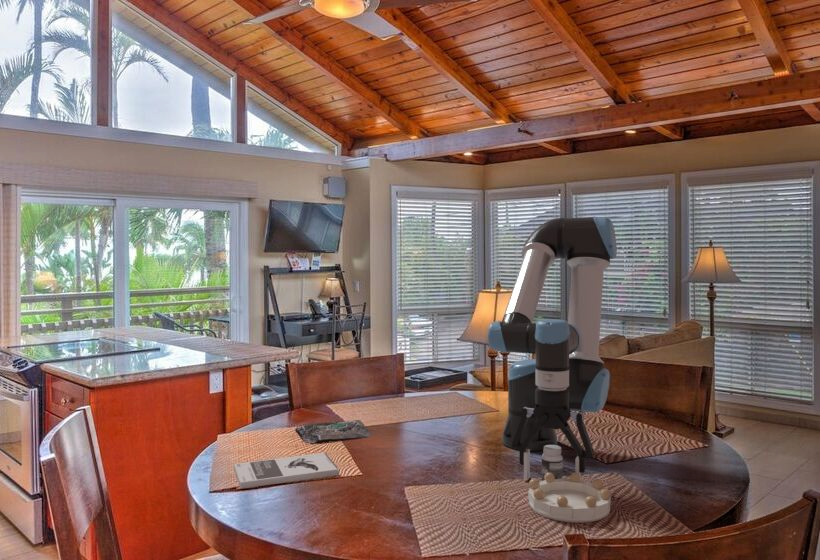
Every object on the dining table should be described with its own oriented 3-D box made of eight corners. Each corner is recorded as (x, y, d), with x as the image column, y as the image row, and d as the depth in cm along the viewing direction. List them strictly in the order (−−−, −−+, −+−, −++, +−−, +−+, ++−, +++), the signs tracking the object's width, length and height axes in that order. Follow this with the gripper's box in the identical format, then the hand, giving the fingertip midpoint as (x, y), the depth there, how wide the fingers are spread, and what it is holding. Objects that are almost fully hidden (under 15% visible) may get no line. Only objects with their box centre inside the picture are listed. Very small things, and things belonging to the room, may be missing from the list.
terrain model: (305, 447, 176) (305, 436, 176) (295, 433, 190) (295, 422, 190) (374, 439, 183) (374, 428, 183) (360, 426, 198) (360, 416, 197)
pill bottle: (538, 479, 148) (539, 444, 147) (558, 478, 148) (558, 443, 148) (545, 487, 143) (545, 450, 142) (565, 486, 143) (565, 449, 143)
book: (240, 491, 144) (240, 482, 143) (234, 471, 156) (233, 463, 156) (338, 477, 152) (338, 469, 152) (325, 459, 165) (325, 452, 165)
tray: (519, 514, 128) (519, 491, 128) (538, 486, 143) (538, 466, 143) (605, 529, 121) (605, 504, 121) (615, 497, 136) (615, 476, 136)
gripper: (497, 386, 146) (497, 480, 147) (603, 395, 136) (602, 495, 137) (506, 380, 153) (506, 470, 154) (607, 388, 143) (607, 484, 144)
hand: (551, 482), depth 145 cm, fingers open, 11 cm apart
